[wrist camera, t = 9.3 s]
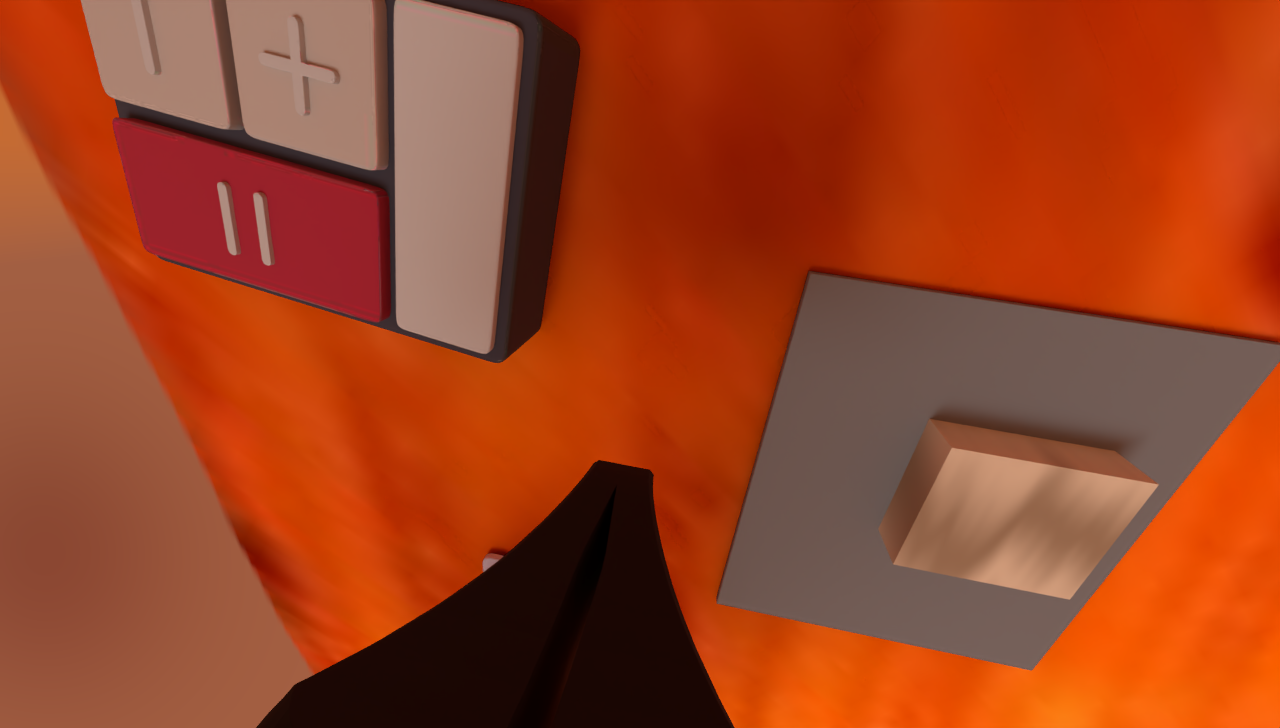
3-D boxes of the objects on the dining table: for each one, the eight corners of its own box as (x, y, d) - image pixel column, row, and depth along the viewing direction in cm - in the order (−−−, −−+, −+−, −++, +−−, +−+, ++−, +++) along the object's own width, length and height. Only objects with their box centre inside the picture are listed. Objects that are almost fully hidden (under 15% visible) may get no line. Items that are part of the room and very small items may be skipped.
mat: (1027, 662, 24) (1031, 670, 24) (716, 596, 25) (716, 603, 25) (1278, 342, 16) (1291, 346, 16) (808, 271, 17) (810, 273, 17)
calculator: (24, -121, 13) (532, 2, 12) (189, -59, 17) (584, 39, 16) (128, 262, 18) (494, 376, 17) (237, 242, 22) (541, 334, 20)
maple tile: (878, 529, 21) (1039, 560, 21) (893, 564, 20) (1069, 599, 19) (929, 418, 19) (1115, 451, 18) (952, 447, 17) (1158, 484, 16)
